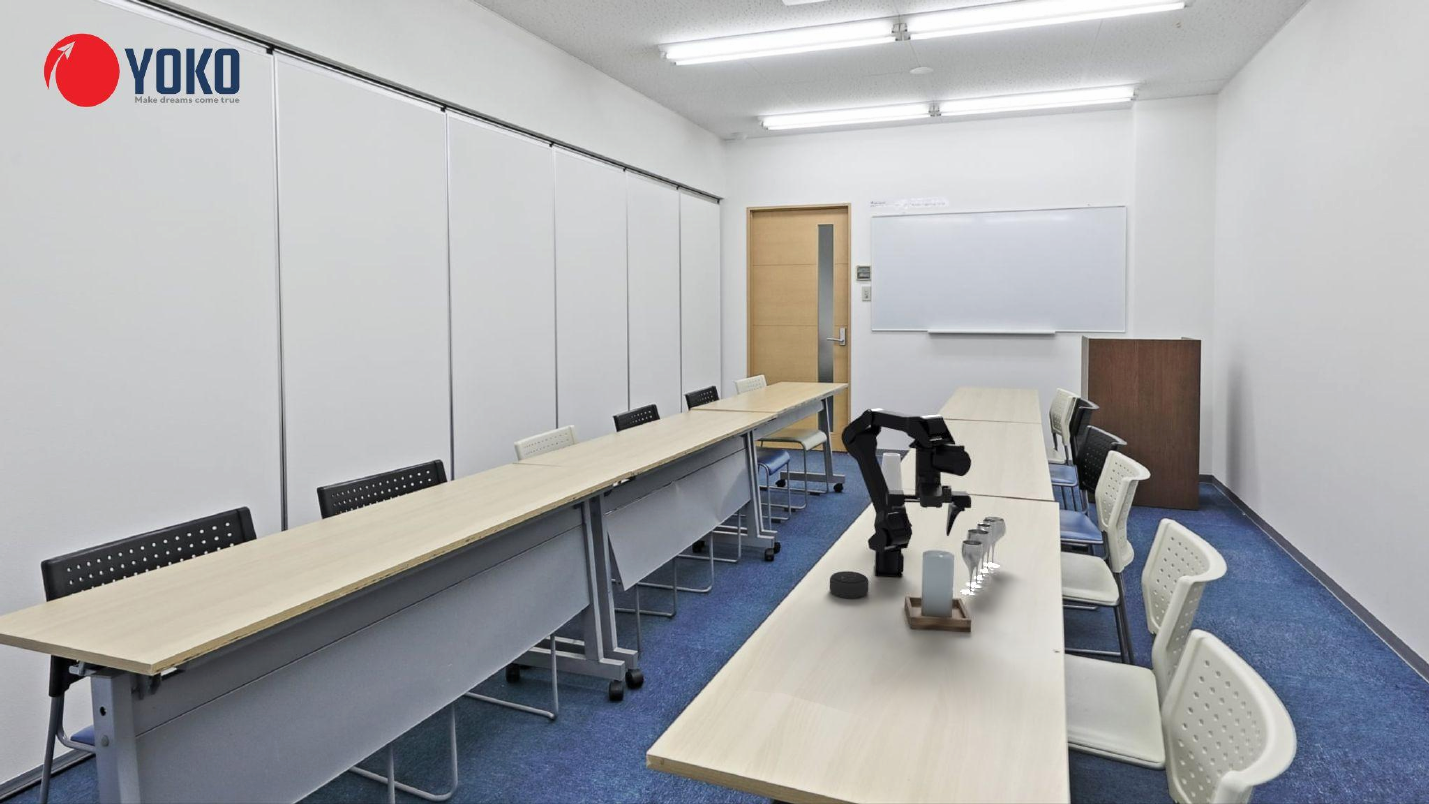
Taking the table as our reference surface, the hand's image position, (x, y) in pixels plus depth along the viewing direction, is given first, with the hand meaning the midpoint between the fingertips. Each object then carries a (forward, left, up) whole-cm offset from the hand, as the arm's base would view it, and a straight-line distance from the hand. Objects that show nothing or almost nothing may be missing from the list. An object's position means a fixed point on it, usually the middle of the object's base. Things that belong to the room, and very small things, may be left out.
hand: (927, 535), depth 181 cm
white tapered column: (-5, +42, -13) cm, 45 cm away
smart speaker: (-18, -5, -13) cm, 23 cm away
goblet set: (+15, +10, -13) cm, 22 cm away
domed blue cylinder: (0, -18, -12) cm, 21 cm away
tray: (0, -18, -13) cm, 22 cm away
